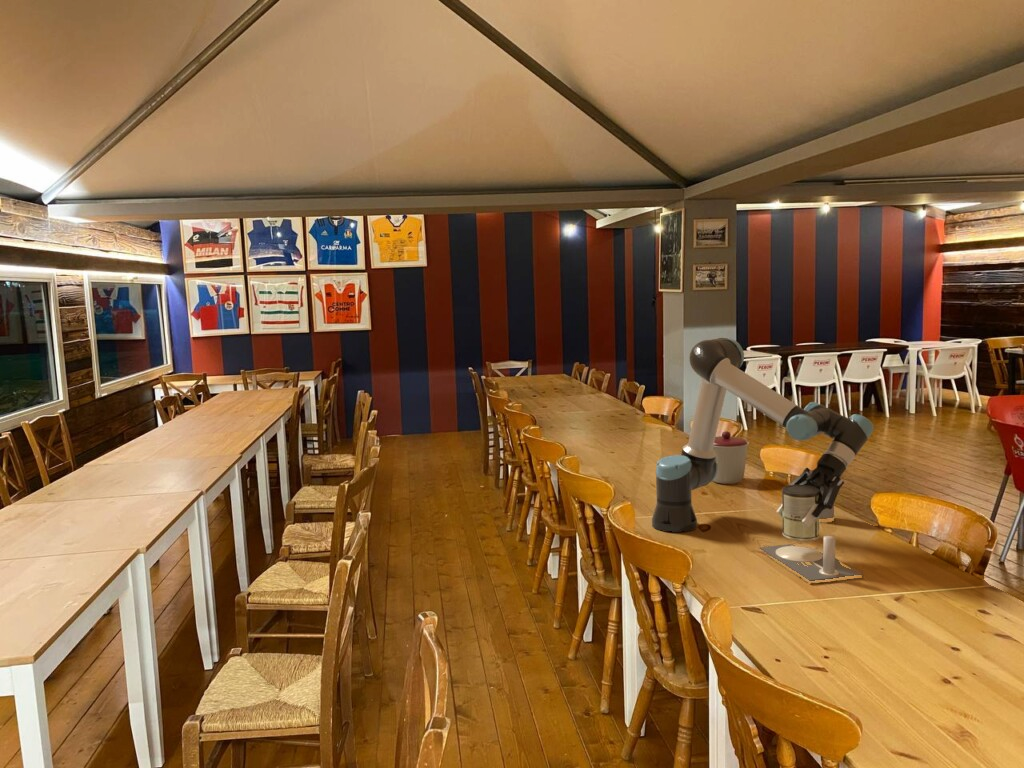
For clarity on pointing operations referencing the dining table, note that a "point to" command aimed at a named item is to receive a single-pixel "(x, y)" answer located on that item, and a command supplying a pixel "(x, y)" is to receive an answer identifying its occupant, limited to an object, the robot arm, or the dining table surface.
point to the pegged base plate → (811, 560)
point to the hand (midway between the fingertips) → (792, 519)
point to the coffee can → (799, 512)
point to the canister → (730, 458)
